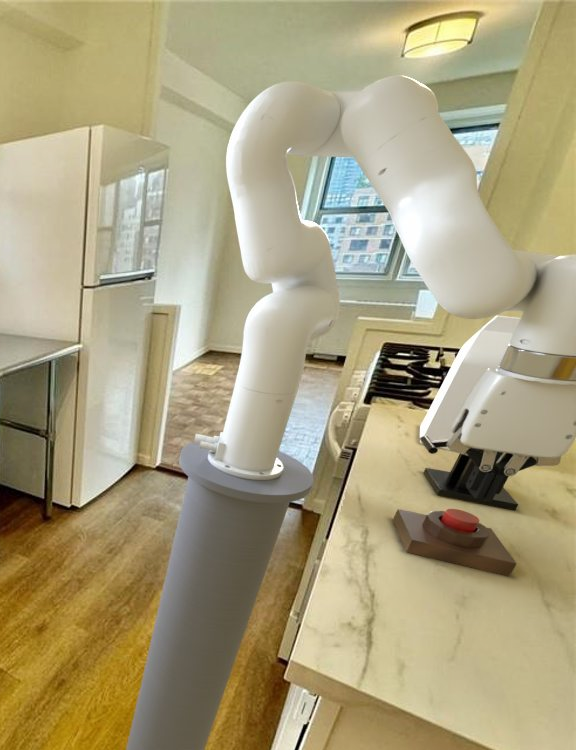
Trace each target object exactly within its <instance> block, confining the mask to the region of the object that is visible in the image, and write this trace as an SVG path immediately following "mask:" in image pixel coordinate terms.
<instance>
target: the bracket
mask: <svg viewBox="0 0 576 750" xmlns="http://www.w3.org/2000/svg"><path fill="white" fill-rule="evenodd" d="M502 454H503V452H497V454H496V457H495V461H494V464H496V462H497V461H498V459H499V458H500V457H501V455H502ZM493 466H494V465H493ZM474 467H475V464H474V462H473V461H472V460H471V459H470V457H469V456H467V455H463V454H460V453H458V456H457V458H456V460H455V462H454V463H453V466H452V468H451V469H450V471H448V470H447V471H446V470H441V469H437V468H436V469H435V468H430V467H425V468H424V470H423V473H422V474H423V475H424V477H425V479H426V480H427V481H428V483H429V485H430V487H431V488H432V490H433V491H434V493H435V494H436V496H437V497H442V498H443V497H444V498H449V499H454V500H460V501H464V502H469V503H474V504H479V505H483V506H484V505H485V506H490V507H494V508H500V509H504V510H505V509H506V510H510V511H516V510H517V508H518V507H519V505H520V504H519V503H518V502H517V501H516V500H515V498H514V497H513V496H512V495H511V494H510V493H509V492H508V491H507V490H506V488H505V486H503V488H502V490H501V492H500V493H499V494H495V496H494V498H493V500H492V501H486V500H484V499H475V498H474V497H473V496H472V494H471V493H470V492H469V490H468V488H467V487H466V483H467V481H468V479H469V477H470V475H471V473H472V471H473V469H474Z"/></svg>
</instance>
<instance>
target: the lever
mask: <svg viewBox="0 0 576 750" xmlns="http://www.w3.org/2000/svg"><path fill="white" fill-rule="evenodd" d="M420 440H421V442H422V443H423V444H422V445H423V446H424V448H425V449H426V450H427V452H428V453H429V454H431V455H434V454H437V453H438V451H439V448H438V447H447V445H446V444H447V442H448V441H449V440H450V439H444V440H433V441H431V440H430V438H429V437H428V436H422V437H421V438H420V437H419V441H420Z"/></svg>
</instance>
